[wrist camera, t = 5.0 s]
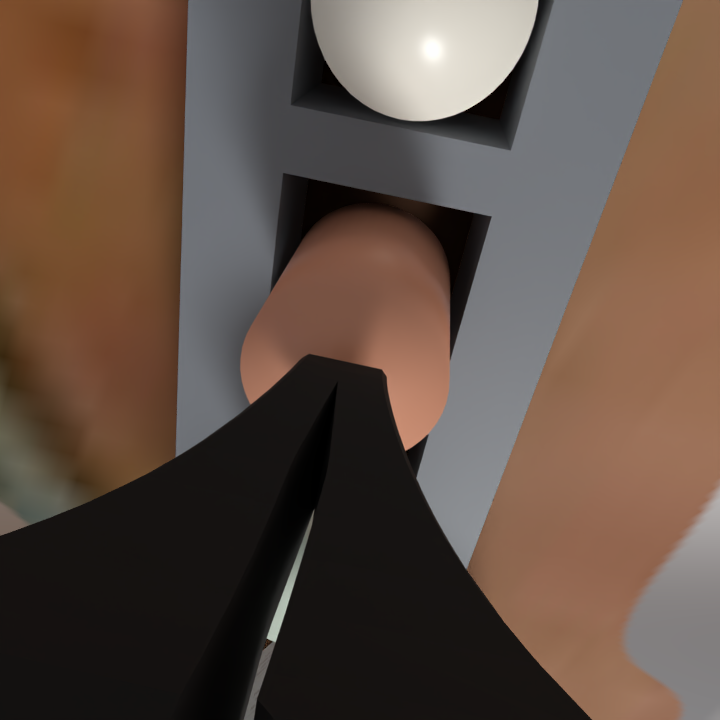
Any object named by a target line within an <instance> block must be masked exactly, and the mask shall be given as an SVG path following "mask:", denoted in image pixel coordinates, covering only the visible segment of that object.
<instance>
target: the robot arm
mask: <svg viewBox="0 0 720 720" xmlns="http://www.w3.org/2000/svg"><path fill="white" fill-rule="evenodd" d="M313 511H314V515H313V522H312V526H311V530H310V533H309V536H308V540H307V543H306V547H305V550H304V553H303V557H302V560H301V563H300V566H299V570H298V573H297V576H296V579H295V583H294V586H293V589H292V592H291V596H290V599H289V602H288V605H287V609H286V612H285V615H284V618H283V621H282V624H281V627H280V630H279V633H278V636H277V640H276V643H275V646H274V649H273V652H272V655H271V658H270V661H269V664H268V667H267V670H266V673H265V676H264V679H263V682H262V685H261V688H260V691H259V694H258V697H257V702H256V708H255V715H254V720H592V719H591V718H590V717H589V716H588V715H587V714H586V713H585V712H584V711H583V710H582V709H581V708H580V707H579V706H578V705H577V704H576V702H575V701H574V700H573V699H572V698H571V697H570V696H569V695H568V694H567V693H566V692H565V691H564V690H563V689H562V688H561V687H560V686H559V684H558V683H557V682H556V681H555V680H554V679H553V678H552V677H551V676H550V675H549V674H548V673H547V672H546V671H545V670H544V669H543V668H542V667H541V665H540V664H539V663H538V662H537V661H536V660H535V659H534V658H533V656H532V655H531V654H530V653H529V652H528V650H527V649H526V648H525V647H524V646H523V644H522V643H521V642H520V641H519V640H518V638H517V637H516V636H515V635H514V633H513V632H512V631H511V630H510V629H509V627H508V626H507V625H506V624H505V623H504V621H503V620H502V618H501V617H500V616H499V614H498V613H497V612H496V610H495V609H494V607H493V606H492V605H491V603H490V602H489V600H488V599H487V598H486V596H485V595H484V594H483V592H482V591H481V589H480V588H479V587H478V585H477V584H476V583H475V581H474V580H473V578H472V577H471V576H470V574H469V573H468V571H467V570H466V568H465V567H464V565H463V563H462V562H461V560H460V559H459V557H458V555H457V554H456V552H455V551H454V549H453V547H452V546H451V544H450V543H449V541H448V539H447V537H446V536H445V534H444V532H443V530H442V528H441V527H440V525H439V523H438V521H437V520H436V518H435V516H434V514H433V512H432V510H431V508H430V506H429V504H428V502H427V500H426V498H425V496H424V494H423V492H422V490H421V487H420V485H419V483H418V481H417V478H416V476H415V474H414V472H413V469H412V467H411V464H410V462H409V459H408V457H407V454H406V451H405V448H404V446H403V443H402V440H401V437H400V434H399V431H398V428H397V425H396V422H395V418H394V415H393V411H392V407H391V403H390V398H389V393H388V387H387V376H386V375H385V373H384V372H383V370H382V369H378V368H373V367H369V366H364V365H359V364H355V363H350V362H345V361H341V360H336V359H332V358H327V357H322V356H318V355H313V354H308V355H306V356H304V357H303V358H301V359H300V360H299V361H298V362H297V363H296V364H295V365H294V366H293V367H292V368H291V369H290V370H289V371H288V372H287V373H286V374H285V375H284V376H283V377H282V378H281V379H280V380H279V381H278V382H277V383H276V384H274V385H273V386H272V387H271V388H270V389H269V390H268V391H267V392H265V393H264V394H263V395H262V396H261V397H259V398H258V399H257V400H256V401H254V402H253V403H252V404H251V405H250V406H248V407H247V408H246V409H245V410H244V411H242V412H241V413H240V414H238V415H237V416H236V417H235V418H233V419H232V420H230V421H229V422H228V423H226V424H225V425H223V426H222V427H221V428H219V429H218V430H216V431H215V432H214V433H212V434H211V435H209V436H208V437H207V438H205V439H204V440H202V441H201V442H199V443H198V444H196V445H195V446H193V447H192V448H190V449H189V450H187V451H185V452H184V453H182V454H181V455H179V456H177V457H176V458H174V459H172V460H170V461H169V462H167V463H165V464H164V465H162V466H160V467H158V468H157V469H155V470H153V471H151V472H149V473H148V474H146V475H144V476H142V477H140V478H138V479H136V480H134V481H132V482H130V483H128V484H126V485H124V486H122V487H119V488H117V489H115V490H113V491H111V492H109V493H107V494H105V495H103V496H100V497H98V498H96V499H94V500H92V501H90V502H88V503H85V504H83V505H81V506H78V507H76V508H73V509H71V510H68V511H66V512H63V513H61V514H58V515H56V516H53V517H51V518H48V519H46V520H43V521H40V522H37V523H35V524H32V525H29V526H26V527H24V528H21V529H18V530H16V531H13V532H10V533H7V534H4V535H1V536H0V720H244V717H245V714H246V710H247V706H248V703H249V699H250V695H251V692H252V688H253V684H254V680H255V677H256V673H257V669H258V666H259V662H260V658H261V655H262V651H263V648H264V645H265V642H266V639H267V636H268V633H269V630H270V627H271V624H272V621H273V618H274V616H275V613H276V610H277V608H278V605H279V602H280V600H281V597H282V594H283V592H284V589H285V586H286V584H287V581H288V578H289V576H290V573H291V570H292V568H293V565H294V562H295V560H296V557H297V554H298V552H299V549H300V546H301V544H302V541H303V538H304V536H305V533H306V530H307V527H308V525H309V522H310V519H311V517H312V514H313Z"/></svg>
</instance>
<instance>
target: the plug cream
mask: <svg viewBox="0 0 720 720" xmlns="http://www.w3.org/2000/svg"><path fill="white" fill-rule="evenodd" d="M537 8H538V0H311V14H312V20H313V26H314V31H315V34H316V37H317V41H318V44H319V47H320V49H321V51H322V54H323V56H324V59H325V60H326V62H327V64H328V66H329V67H330V69H331V71H332V72H333V74H334V75H335V77H336V78H337V79H338V81H339V82H340V83H341V84H342V85H343V86H344V87H345V89H346V90H347V91H348V92H349V93H350V94H351V95H353V96H354V97H355V98H356V99H358V100H359V101H360V102H361V103H363V104H364V105H366V106H368V107H369V108H371V109H373V110H375V111H377V112H379V113H382V114H384V115H386V116H390V117H393V118H397V119H401V120H409V121H430V120H437V119H442V118H446V117H449V116H453V115H456V114H458V113H460V112H463V111H465V110H467V109H469V108H471V107H472V106H474V105H476V104H477V103H479V102H480V101H482V100H483V99H484V98H486V97H487V96H488V95H489V94H491V93H492V92H493V91H494V90H495V89H496V88H497V87H498V86H499V85H500V84H501V83H502V82H503V81H504V80H505V78H506V77H507V76H508V75H509V73H510V72H511V71H512V70H513V68H514V66H515V65H516V63H517V62H518V60H519V58H520V57H521V55H522V53H523V51H524V49H525V47H526V44H527V42H528V40H529V37H530V34H531V31H532V28H533V26H534V22H535V17H536V13H537Z"/></svg>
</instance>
